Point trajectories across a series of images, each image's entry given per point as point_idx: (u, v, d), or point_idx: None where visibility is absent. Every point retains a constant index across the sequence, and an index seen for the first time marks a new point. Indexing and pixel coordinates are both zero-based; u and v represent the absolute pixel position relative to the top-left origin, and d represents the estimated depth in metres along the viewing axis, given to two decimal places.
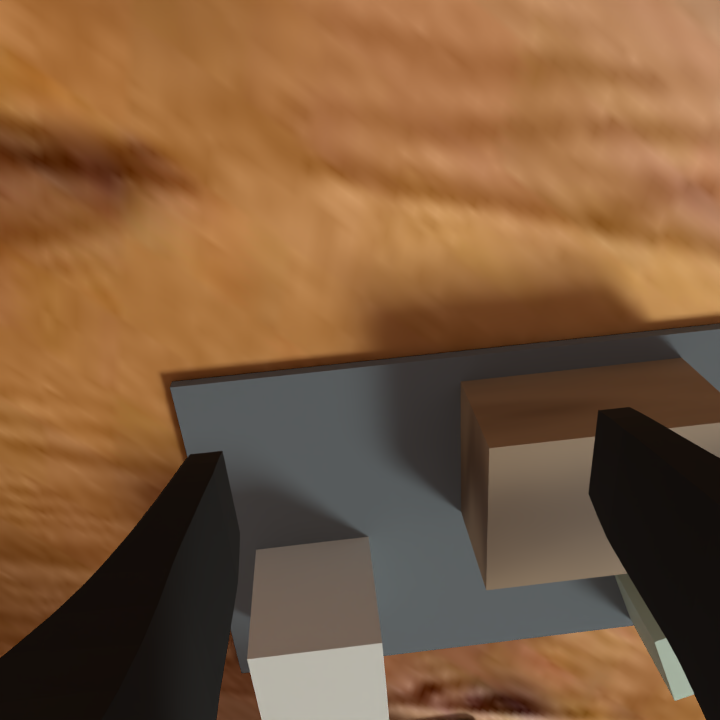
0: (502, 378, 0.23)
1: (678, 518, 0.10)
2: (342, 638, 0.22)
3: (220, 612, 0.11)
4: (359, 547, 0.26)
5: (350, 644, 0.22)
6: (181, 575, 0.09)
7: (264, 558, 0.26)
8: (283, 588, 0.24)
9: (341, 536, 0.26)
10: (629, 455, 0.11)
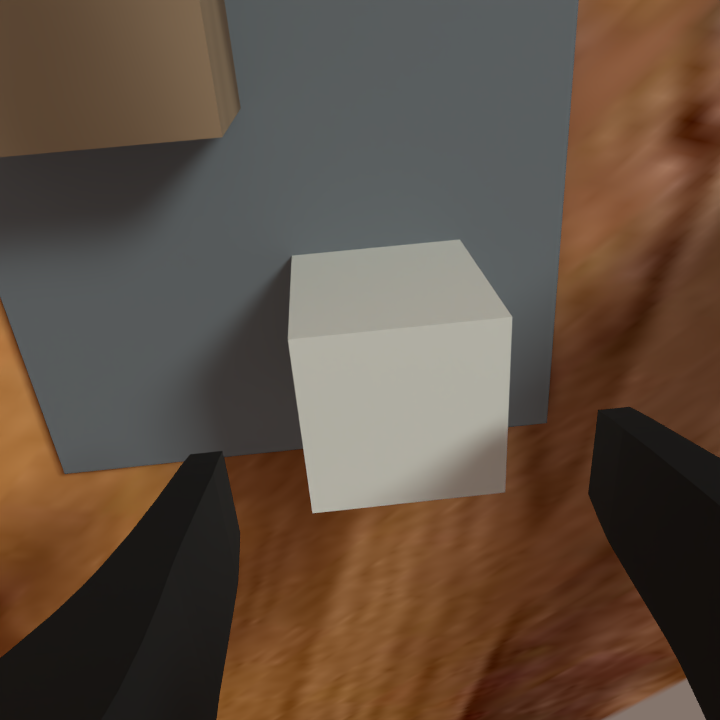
0: None
1: (678, 518, 0.10)
2: None
3: (220, 612, 0.11)
4: None
5: (294, 383, 0.14)
6: (181, 576, 0.09)
7: None
8: None
9: None
10: (629, 455, 0.11)
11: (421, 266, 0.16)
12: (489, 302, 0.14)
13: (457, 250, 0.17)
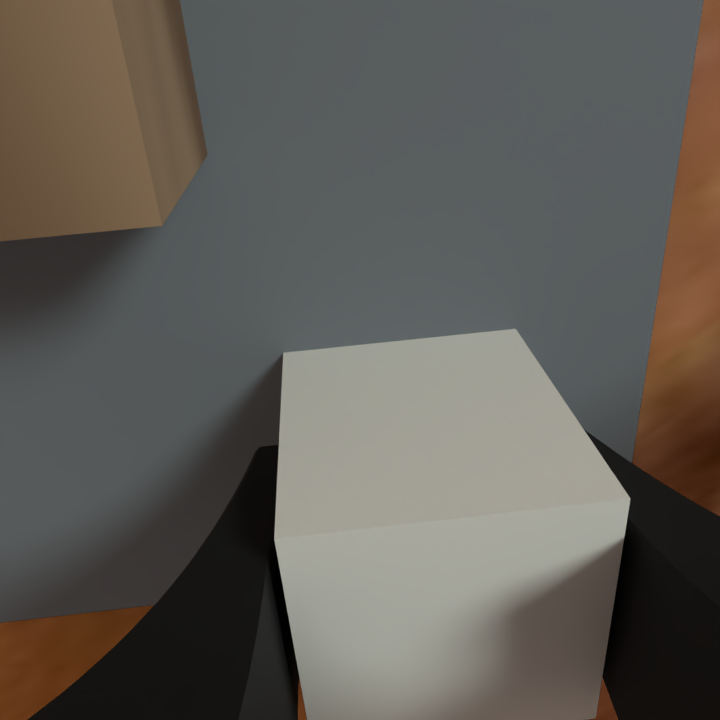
0: None
1: None
2: None
3: None
4: None
5: (285, 594, 0.09)
6: (273, 566, 0.09)
7: None
8: None
9: None
10: None
11: (468, 380, 0.11)
12: (585, 462, 0.09)
13: (515, 349, 0.12)
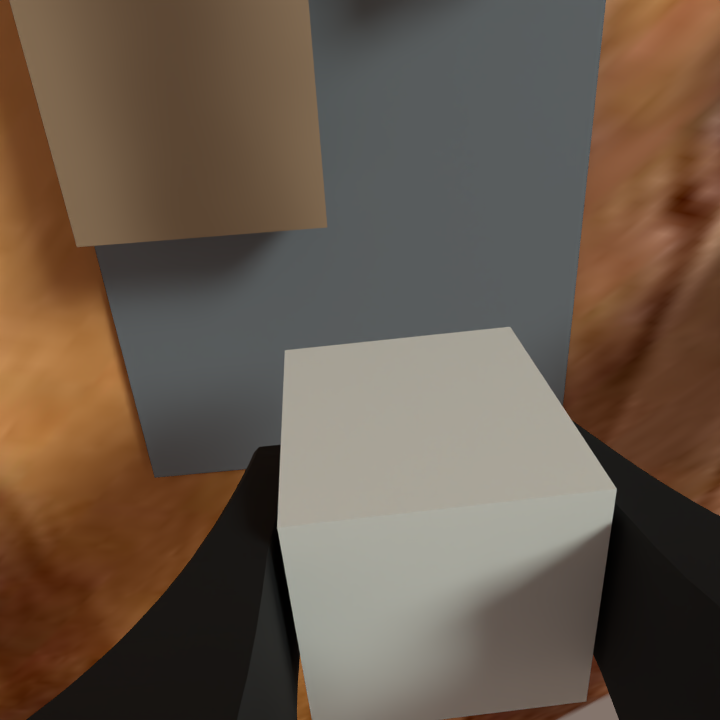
0: None
1: None
2: None
3: None
4: None
5: (287, 581, 0.09)
6: (272, 566, 0.09)
7: None
8: None
9: (353, 331, 0.22)
10: None
11: (464, 377, 0.11)
12: (575, 455, 0.09)
13: (509, 346, 0.12)
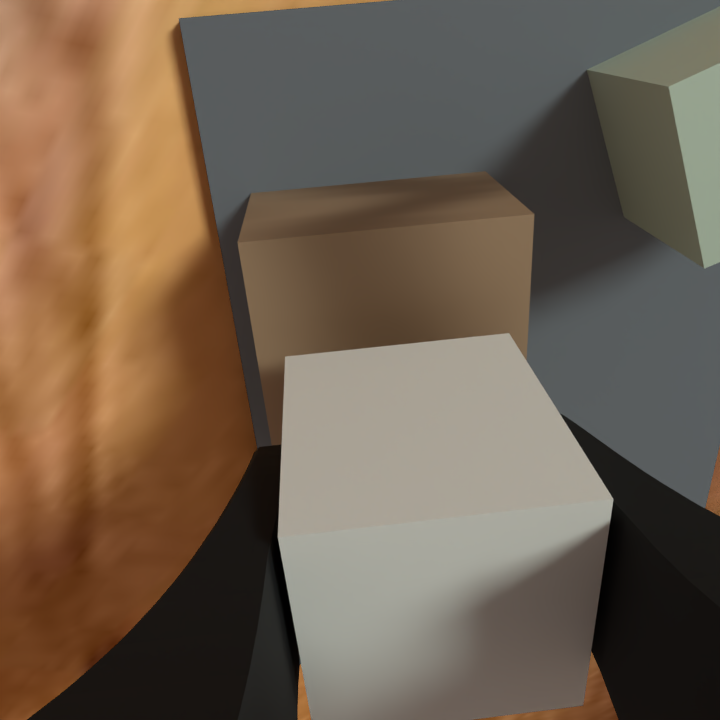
0: None
1: None
2: None
3: None
4: None
5: (288, 589, 0.09)
6: (273, 565, 0.09)
7: None
8: None
9: None
10: None
11: (463, 384, 0.12)
12: (572, 464, 0.09)
13: (508, 353, 0.12)
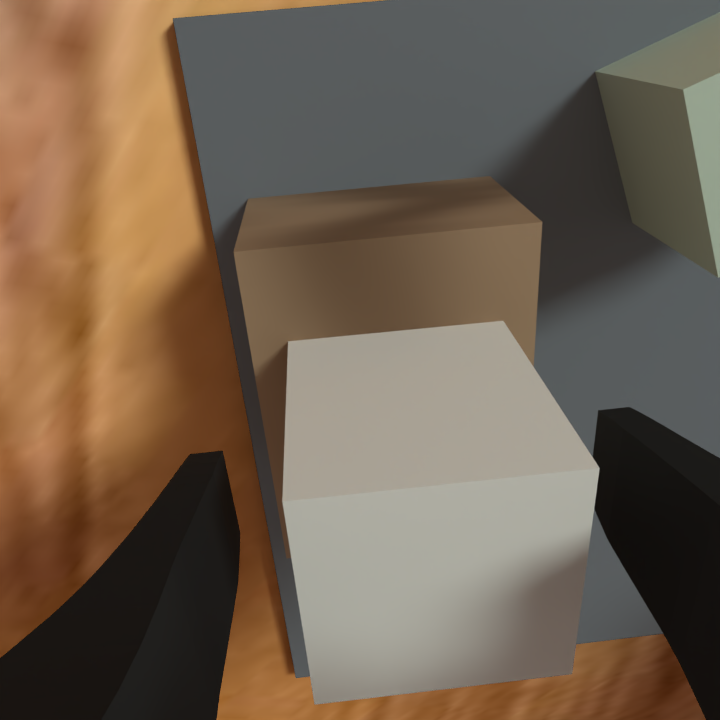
0: None
1: (678, 518, 0.10)
2: None
3: (220, 612, 0.11)
4: None
5: (291, 553, 0.10)
6: (181, 575, 0.09)
7: None
8: None
9: None
10: (629, 455, 0.11)
11: (459, 367, 0.12)
12: (561, 437, 0.10)
13: (502, 338, 0.13)
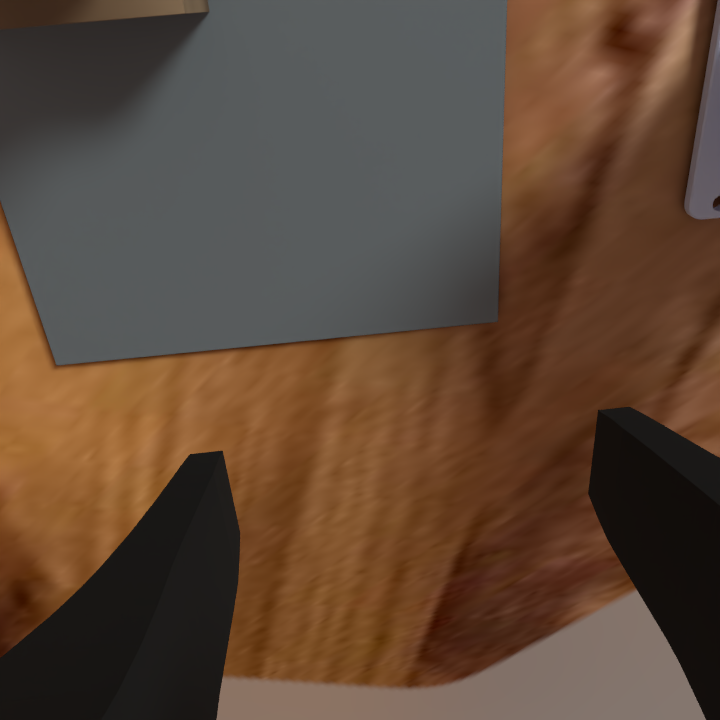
0: None
1: (678, 518, 0.10)
2: None
3: (220, 612, 0.11)
4: None
5: None
6: (181, 576, 0.09)
7: None
8: None
9: (259, 190, 0.20)
10: (629, 455, 0.11)
11: None
12: None
13: None
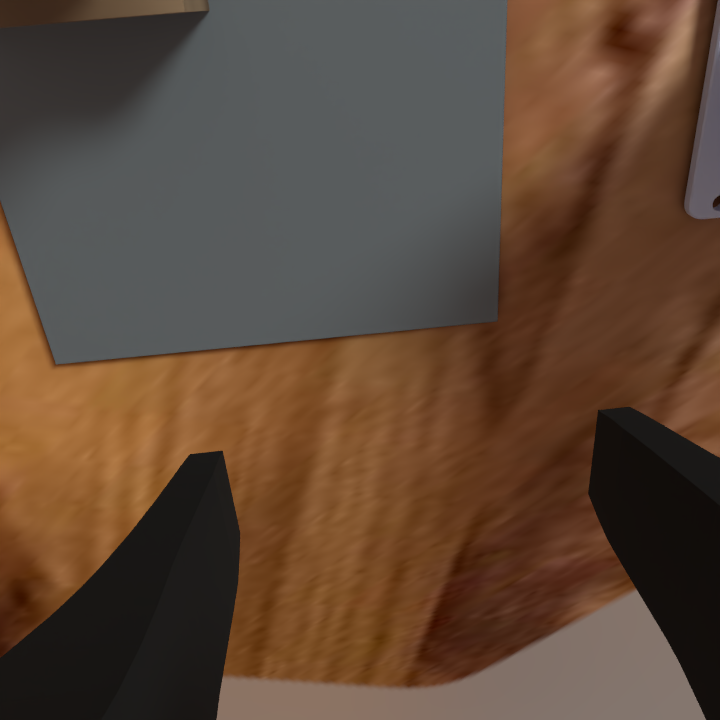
0: None
1: (678, 518, 0.10)
2: None
3: (220, 612, 0.11)
4: None
5: None
6: (181, 575, 0.09)
7: None
8: None
9: (259, 189, 0.20)
10: (629, 455, 0.11)
11: None
12: None
13: None
